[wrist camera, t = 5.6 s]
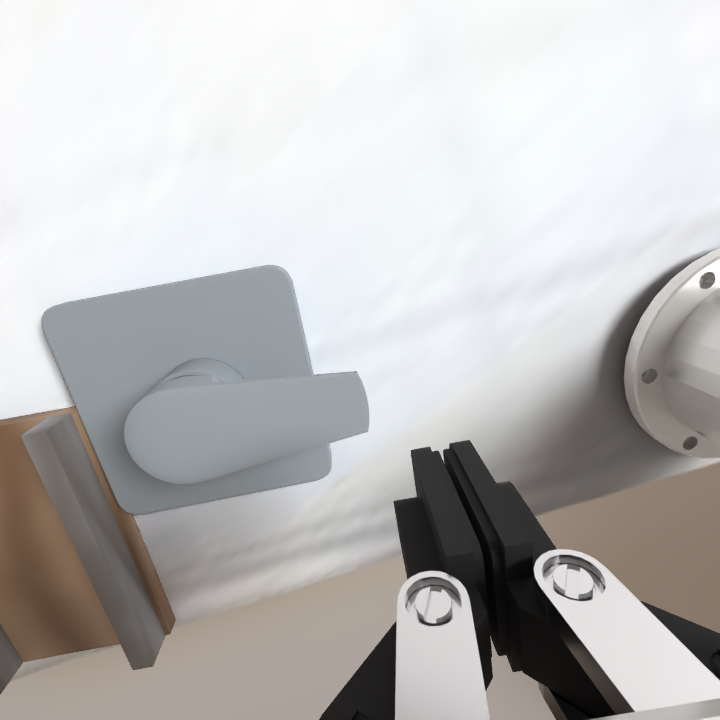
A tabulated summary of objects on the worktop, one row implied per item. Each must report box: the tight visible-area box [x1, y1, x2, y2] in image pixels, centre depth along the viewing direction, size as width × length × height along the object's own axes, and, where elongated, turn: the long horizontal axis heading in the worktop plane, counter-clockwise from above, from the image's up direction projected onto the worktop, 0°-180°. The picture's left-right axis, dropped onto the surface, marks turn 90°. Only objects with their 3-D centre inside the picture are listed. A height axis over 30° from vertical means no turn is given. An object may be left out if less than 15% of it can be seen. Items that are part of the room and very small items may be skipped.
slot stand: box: [0, 406, 175, 694], centre depth 23 cm, size 11×16×3 cm
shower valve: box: [42, 265, 369, 514], centre depth 20 cm, size 12×6×15 cm
